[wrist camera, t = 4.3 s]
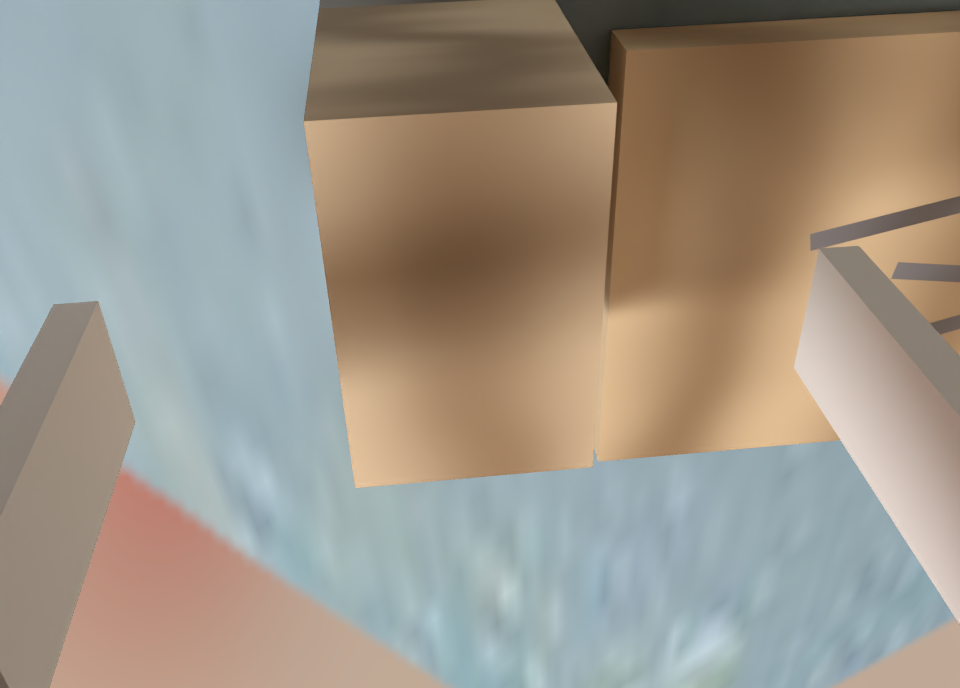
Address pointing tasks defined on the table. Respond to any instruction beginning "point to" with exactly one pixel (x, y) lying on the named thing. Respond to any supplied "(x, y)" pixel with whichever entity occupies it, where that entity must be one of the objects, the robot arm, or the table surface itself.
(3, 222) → the table surface
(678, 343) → the board
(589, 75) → the block
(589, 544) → the table surface
